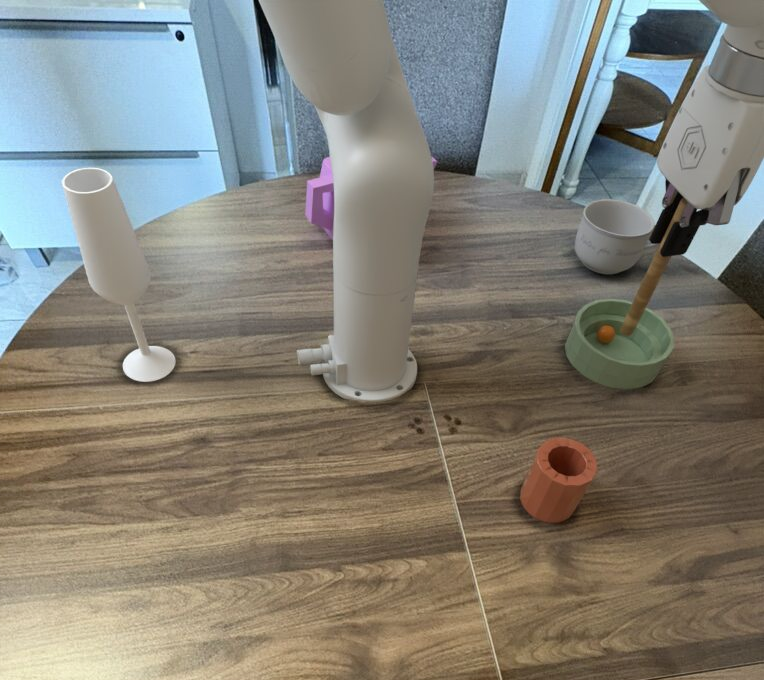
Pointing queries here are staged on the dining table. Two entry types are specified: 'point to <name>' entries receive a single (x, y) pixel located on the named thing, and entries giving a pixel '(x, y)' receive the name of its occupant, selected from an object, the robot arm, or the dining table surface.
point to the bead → (605, 334)
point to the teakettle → (324, 198)
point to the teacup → (613, 236)
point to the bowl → (618, 345)
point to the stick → (650, 280)
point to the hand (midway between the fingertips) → (667, 246)
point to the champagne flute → (114, 260)
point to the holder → (557, 479)
